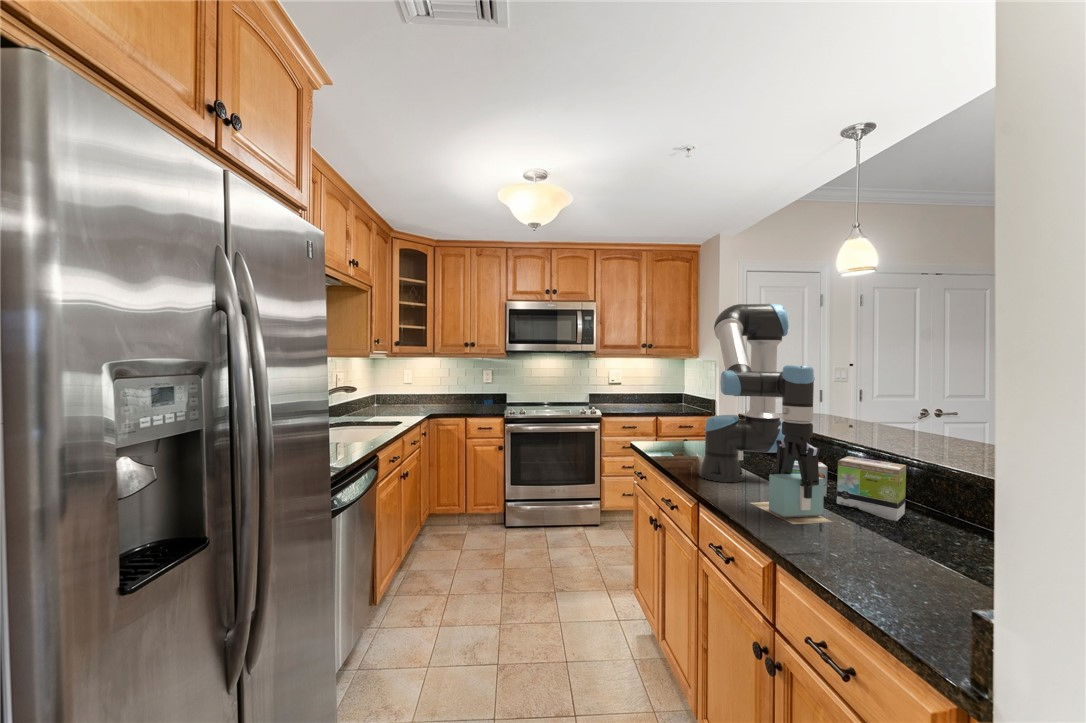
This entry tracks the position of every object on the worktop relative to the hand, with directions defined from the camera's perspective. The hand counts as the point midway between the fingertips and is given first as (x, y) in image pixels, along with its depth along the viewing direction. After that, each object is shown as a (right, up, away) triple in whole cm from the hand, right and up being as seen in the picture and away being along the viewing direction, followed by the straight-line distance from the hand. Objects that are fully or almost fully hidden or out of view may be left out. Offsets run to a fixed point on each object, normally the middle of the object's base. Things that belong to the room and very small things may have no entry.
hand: (795, 505), depth 126 cm
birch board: (0, -4, +3) cm, 5 cm away
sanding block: (0, -2, 0) cm, 2 cm away
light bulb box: (+17, -5, +24) cm, 30 cm away
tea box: (+27, -5, +9) cm, 29 cm away
